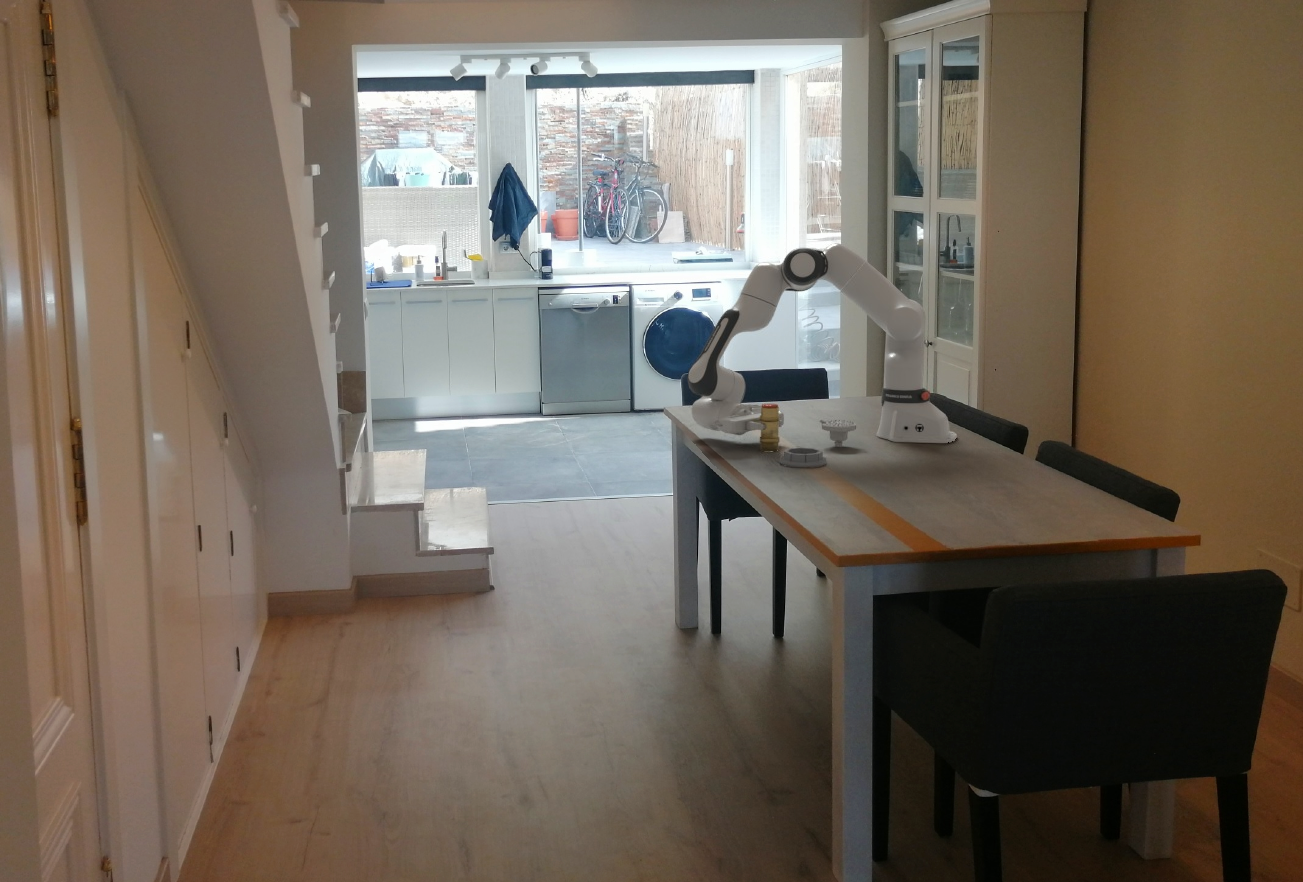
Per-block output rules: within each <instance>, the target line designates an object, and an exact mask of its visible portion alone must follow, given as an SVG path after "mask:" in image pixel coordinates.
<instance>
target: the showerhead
mask: <svg viewBox="0 0 1303 882" xmlns="http://www.w3.org/2000/svg"><path fill="white" fill-rule="evenodd" d="M819 422H820V424H821V429H822V431H827V432H829V440H830V441H833V442H834V447H837V448H842V447H843V442H845V441H847V440H848V433H849V432H854V431H855V430H856V429H857V424H856V423H855V422H853V421H851V420H850V421H849V420H841V419H838V420H836V419H834V420H832V419H831V420H827V421H825V420H823V419H821V420H819Z"/></svg>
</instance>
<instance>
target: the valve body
mask: <svg viewBox="0 0 1303 882" xmlns="http://www.w3.org/2000/svg"><path fill="white" fill-rule="evenodd" d="M761 406H762V407H761V415H760V421H761V423H765V424H766V429H765V430H760V436H759V443H760V451H761V450H762V451H761V452H763V451H776V452H778V451H779V443H780V440H781V439H780V436H779V433H780V432H779V428H780V427H779V421H780V415H779V411H780V410H779V409H780V408H779V404H777V403H763V404H761ZM777 450H778V451H777Z"/></svg>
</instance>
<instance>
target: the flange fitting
mask: <svg viewBox="0 0 1303 882" xmlns="http://www.w3.org/2000/svg"><path fill="white" fill-rule="evenodd" d="M823 453H824V452H823V450H821V449H819V448H817V447H816V448H815V447H805V446H804V447H803V446H799V447H788V448H786V449H785V450H783V455H782V456H780V457H779V464H780V463H781V464H783V465H782V466H784V465H786V466H785V467H788V466H789V468H795V467H815V468H819V466H821V467H823V466H822V465H824V466H826V465H827V458H826V457H825V456H823V455H824V454H823ZM781 464H780V465H781ZM825 464H826V465H825Z"/></svg>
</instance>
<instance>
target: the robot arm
mask: <svg viewBox="0 0 1303 882" xmlns="http://www.w3.org/2000/svg"><path fill="white" fill-rule="evenodd" d="M819 280H823V281H827V282H829V283H831V284H832V285H833V286H834V287H835V288H837V289H838V290H839V291H840V292H841V293H843V294H844V295H845V296H846V297H847V298H848V299H849V300H850V301H852V302H853V303H854V304H855V305H856V306H858V307H859V308H860V310H862V311H863V312H864V313H865V314H866V315H867V316H868V317H869V318H870V319H871V320H872V321H873V322H874V323H875V324H876V325H877V326H878V327H879V328H881V330H883V331H884V332H885V347H884V362H883V363H884V367H883V369H884V370H883V371H884V372H883V387H882V388H881V396H880V397H881V398H880V399H881V407H882V409H881V415H880V416H881V417H880V421H879V426H878V430H877V432H876V437H878V438H880V439H884V440H887V441H888V440H889V441H891V442H893V443H894V442H896V443H920V444H921V443H923V444H924V443H925V444H948V442H949V443H953V442H955V441H956V440H957V439H958V438H957V437H958V434H957V433H956V432H954V431H951V430H950V424H949V419H948V416H947V415H946V413H944V412H943V411H942V410H940V409H939V408H938V407H937V406H935V405H934V404H933V403H931V401H930V400H931V390H930V389H929V390H928V389H927V388H925V387H924V367H925V344H926V343H925V341H926V320H927V319H926V312H925V310H924V308H923V306H922V305H921V303H919V302H918V301H916V300H914V299H909V297H907V296H906V295H905V294H904V293H903V292H902V291H900V290H899V289H898V288H897V286H895V285H894V284H893V283H892V282H891V281H890V279H888V278H887V277H886V276H884V274H883V273H881V272H880V271H879V270H877V268H875V267H874V266H873V265H872V264H870V263H869V262H868V261H867V260H866V259H865V258H863V257H862V256H861V255H860V254H858V253H857V252H856V251H854V250H852V249H850V248H849V247H848V246H845V245H843V244H841V243H839V242H838V243H837V242H835V243H833V244H830V245H828V246H826V247H825V248H824V249H823V250H819V249H814V248H809V247H798V248H795V249H793V250H790V251H789V252H788V254H787V255H786V256H785V258H784V260H783V261H782V263H779V264H774V263H770V262H761V263H758V264H756V265H755V266H754V267H753V269H752V270H751V271H750V274H749V275H748V277H747V279H746V280H745V282H744V284H743V287H742V290H741V292H740V294H739V295H738V296H739V297H738V299H737V301H736V302H735V304H733V306H732V307H731V308H729V309H727V310H725V311H724V313H723V314H722V315H721V317H720V318H719V320H718V321H717V323H716V324H715V327H714V329H713V330H712V332H711V333H710V336H709V338H708V339H707V341H706V343H705V345H704V346H703V348H702V350H701V352H700V354H699V355H698V357H697V358H696V360H695V361H694V362H693V364H692V365H691V367H690V368H689V370H688V372H687V383H688V387H689V389H690V391H691V392H692V393H693V394H694V395H697V396H701V397H700V398H699V399H696V400H695V401H694V402H693V404H692V406H691V416H692V419H693V421H694V422H695V423H696V425H698V426H700V427H701V428H703V429H707V430H711V431H714V432H723V433H725V434H729V435H735V436H743V435H744V434H746V433H748V432H752V431H757V430H758V431H761V430H765V429H766V424H765V423H761V421H760V415H761V407H762V404H745V403H743V400H744V397H745V394H746V389H747V388H746V387H747V386H746V381H745V380H746V379H745V378H744V376H743V375H742V373H740V372H739V373H738V372H736V371H734V370H732V369H730V368H727V367H724V366H722V365H721V364H720V361H721V360H722V357H723V355H724V354H725V352H726V350H727V348H728V347H729V344H730V342H731V341H732V339H733V338H734V337H736V335H738V334H741V333H747V332H757V331H761V330H763V329H765V328H766V327H767V326H768V325H770V323H771V321H772V320H773V318H774V316H775V313H776V310H777V307H778V305H779V302H780V299H781V297H782V295H783V293H784V292H786V291H787V292H788V291H789V292H805V291H808V290H810V289H811V288H813V287H814V286H815V285H816V283H817V282H818V281H819ZM779 415H780V421H779V428H781V427H782V426H784V424H785V422H784V421H785V416H784V415H785V414H784V412H783V411H780V410H779ZM956 438H957V439H956ZM955 439H956V440H955ZM952 441H953V442H952Z"/></svg>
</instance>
